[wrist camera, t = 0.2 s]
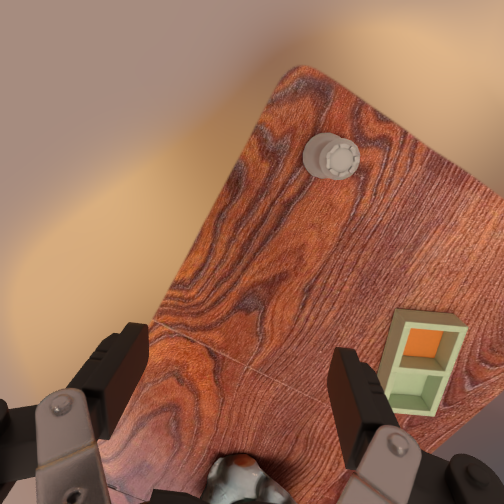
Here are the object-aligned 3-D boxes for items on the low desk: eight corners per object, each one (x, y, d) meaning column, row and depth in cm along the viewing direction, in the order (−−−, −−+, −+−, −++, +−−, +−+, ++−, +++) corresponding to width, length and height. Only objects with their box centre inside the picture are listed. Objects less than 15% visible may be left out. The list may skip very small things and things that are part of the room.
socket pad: (395, 308, 37) (405, 321, 34) (453, 313, 37) (468, 327, 34) (371, 394, 42) (379, 411, 39) (423, 398, 42) (434, 416, 39)
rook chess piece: (298, 174, 32) (308, 185, 25) (306, 129, 31) (320, 125, 23) (340, 180, 32) (363, 192, 25) (350, 135, 31) (378, 134, 23)
